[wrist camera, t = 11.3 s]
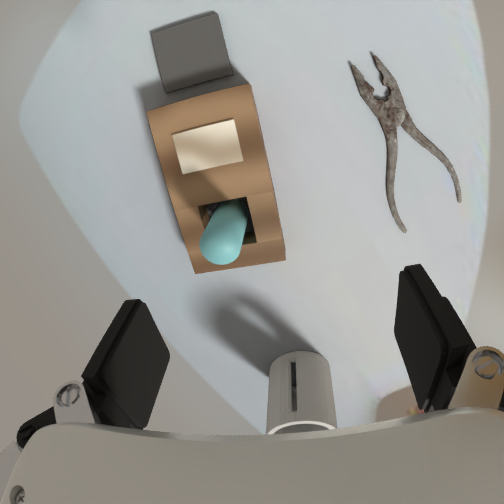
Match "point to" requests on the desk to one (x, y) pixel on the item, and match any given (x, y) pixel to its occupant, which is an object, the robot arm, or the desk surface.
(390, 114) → the pliers
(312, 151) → the desk surface
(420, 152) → the desk surface
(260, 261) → the wooden peg hole block
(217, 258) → the peg
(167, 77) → the pad
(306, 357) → the cup
